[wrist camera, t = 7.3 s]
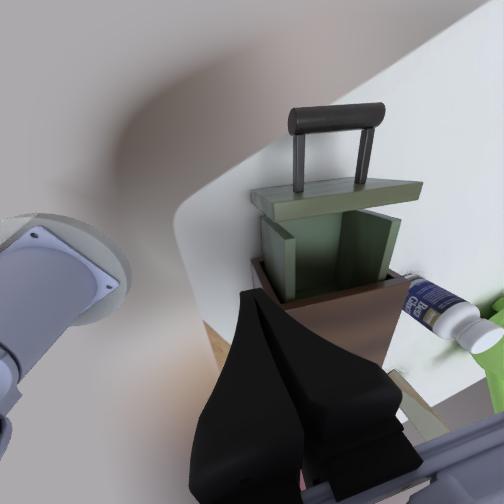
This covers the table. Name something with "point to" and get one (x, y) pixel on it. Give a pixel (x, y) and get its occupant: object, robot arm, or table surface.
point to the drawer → (330, 213)
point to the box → (419, 410)
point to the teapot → (495, 361)
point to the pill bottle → (450, 316)
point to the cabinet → (348, 313)
